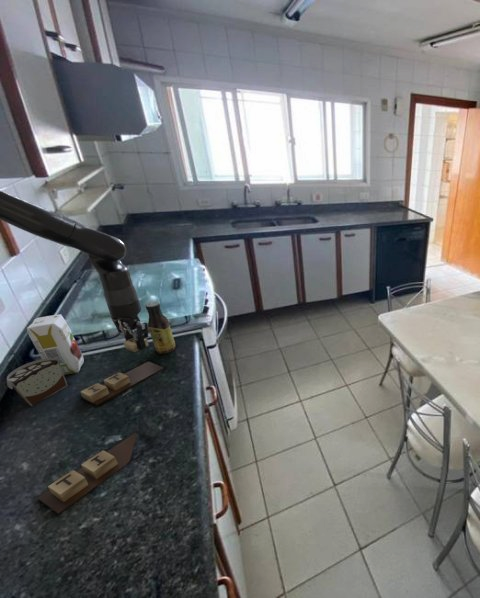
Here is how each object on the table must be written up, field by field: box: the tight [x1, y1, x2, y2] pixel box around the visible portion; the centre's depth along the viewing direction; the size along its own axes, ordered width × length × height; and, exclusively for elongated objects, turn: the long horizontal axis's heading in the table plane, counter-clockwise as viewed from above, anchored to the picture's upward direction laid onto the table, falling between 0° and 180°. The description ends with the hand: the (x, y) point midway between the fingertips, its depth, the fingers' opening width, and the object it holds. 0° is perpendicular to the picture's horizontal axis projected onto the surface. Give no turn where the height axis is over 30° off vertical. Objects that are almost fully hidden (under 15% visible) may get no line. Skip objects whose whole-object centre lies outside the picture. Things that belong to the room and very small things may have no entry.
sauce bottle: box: [145, 301, 177, 355], centre depth 119 cm, size 7×6×20 cm
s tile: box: [123, 338, 150, 353], centre depth 107 cm, size 4×4×3 cm
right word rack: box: [80, 361, 165, 407], centre depth 106 cm, size 20×8×3 cm, turn 158°
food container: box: [6, 358, 69, 407], centre depth 97 cm, size 12×6×10 cm, turn 168°
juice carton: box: [26, 313, 85, 376], centre depth 106 cm, size 8×9×19 cm
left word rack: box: [36, 432, 138, 516], centre depth 78 cm, size 20×8×3 cm, turn 158°
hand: (137, 346), depth 107 cm, fingers closed on s tile, 4 cm apart
